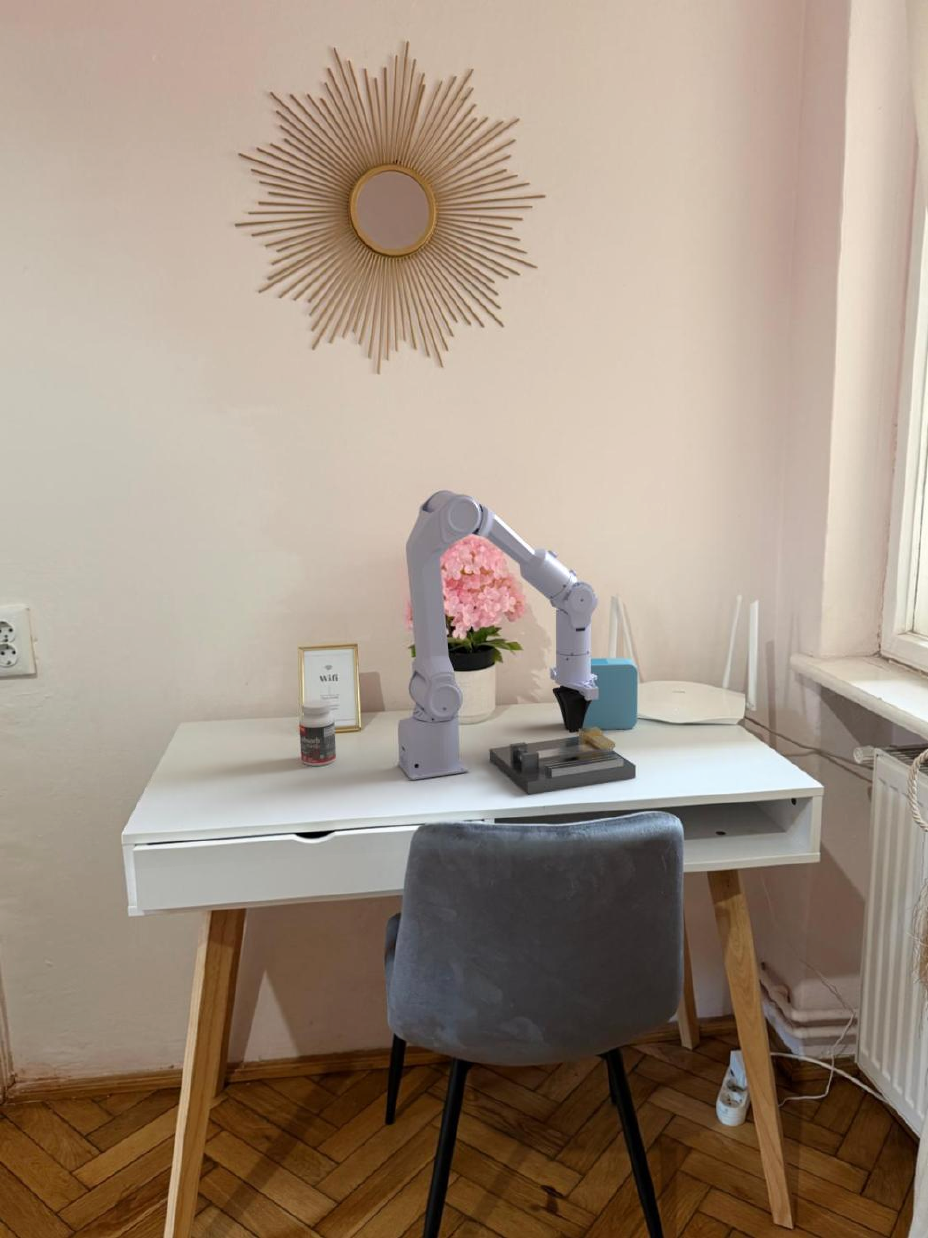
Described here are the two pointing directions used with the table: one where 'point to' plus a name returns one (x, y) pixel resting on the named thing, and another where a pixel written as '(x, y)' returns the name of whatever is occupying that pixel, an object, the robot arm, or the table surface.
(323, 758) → the pill bottle
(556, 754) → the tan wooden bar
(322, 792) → the table surface
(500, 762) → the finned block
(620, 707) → the data package
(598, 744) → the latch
